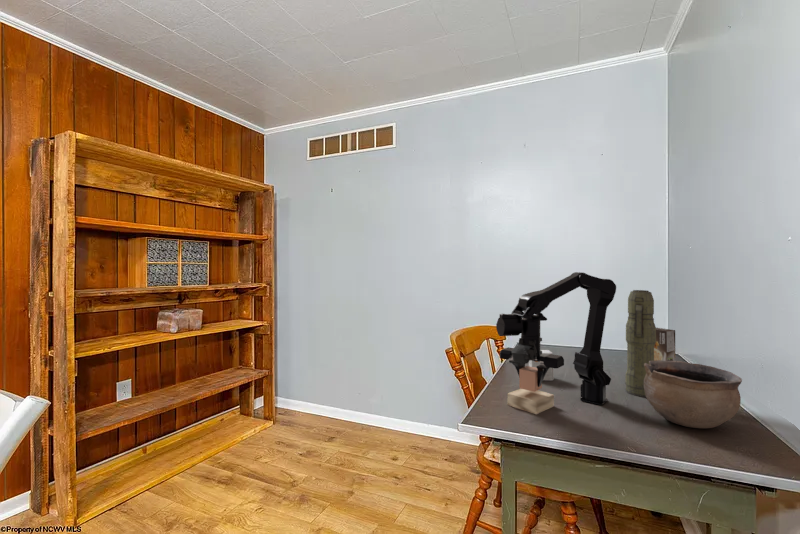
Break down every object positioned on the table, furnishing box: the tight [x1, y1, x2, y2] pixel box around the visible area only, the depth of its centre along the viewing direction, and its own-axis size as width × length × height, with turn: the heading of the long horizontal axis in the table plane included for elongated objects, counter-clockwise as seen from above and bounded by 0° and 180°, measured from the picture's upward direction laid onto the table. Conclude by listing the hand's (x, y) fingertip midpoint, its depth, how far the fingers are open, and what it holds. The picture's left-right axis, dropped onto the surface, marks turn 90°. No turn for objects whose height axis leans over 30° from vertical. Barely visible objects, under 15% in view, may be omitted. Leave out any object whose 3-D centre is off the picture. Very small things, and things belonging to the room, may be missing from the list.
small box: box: [528, 349, 554, 381], centre depth 151 cm, size 8×6×10 cm
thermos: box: [624, 289, 657, 398], centre depth 134 cm, size 9×12×35 cm
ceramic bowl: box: [644, 360, 743, 429], centre depth 109 cm, size 22×22×15 cm
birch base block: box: [506, 388, 555, 415], centre depth 122 cm, size 10×10×4 cm
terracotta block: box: [518, 365, 543, 392], centre depth 122 cm, size 5×5×6 cm
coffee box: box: [654, 327, 676, 361], centre depth 168 cm, size 9×6×16 cm
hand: (530, 384), depth 122 cm, fingers closed on terracotta block, 5 cm apart
